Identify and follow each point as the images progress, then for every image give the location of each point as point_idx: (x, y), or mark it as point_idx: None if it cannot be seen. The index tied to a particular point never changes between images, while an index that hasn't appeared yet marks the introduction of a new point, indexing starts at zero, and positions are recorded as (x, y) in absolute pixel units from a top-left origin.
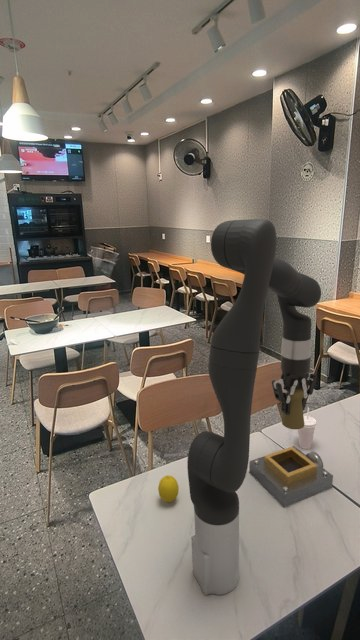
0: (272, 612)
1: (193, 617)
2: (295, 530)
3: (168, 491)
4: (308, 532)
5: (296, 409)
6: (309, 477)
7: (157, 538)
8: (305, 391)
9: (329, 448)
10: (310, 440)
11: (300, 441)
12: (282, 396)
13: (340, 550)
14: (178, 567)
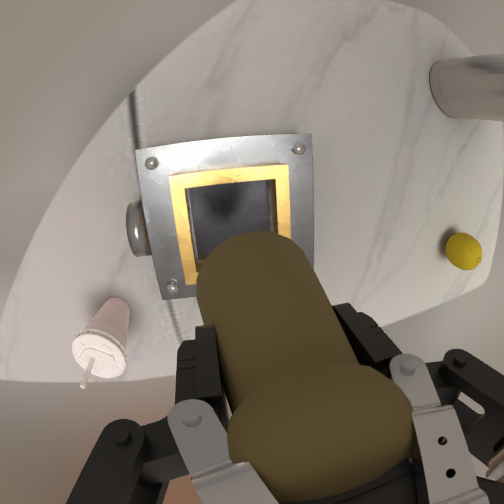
0: (412, 14)
1: None
2: (314, 76)
3: (474, 238)
4: (292, 60)
5: (312, 311)
6: (204, 164)
7: (477, 182)
8: (204, 466)
9: (68, 281)
10: (105, 308)
11: (128, 318)
12: (484, 382)
13: (262, 9)
14: (474, 128)
